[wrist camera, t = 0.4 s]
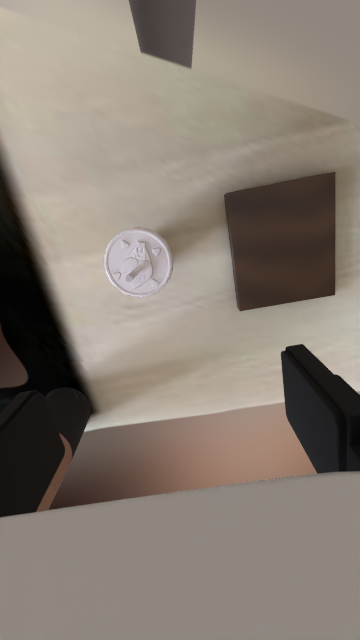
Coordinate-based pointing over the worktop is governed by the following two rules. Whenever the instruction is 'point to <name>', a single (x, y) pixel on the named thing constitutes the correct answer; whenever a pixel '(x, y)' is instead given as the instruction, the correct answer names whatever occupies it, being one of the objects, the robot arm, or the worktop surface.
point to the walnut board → (283, 241)
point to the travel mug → (66, 431)
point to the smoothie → (138, 262)
